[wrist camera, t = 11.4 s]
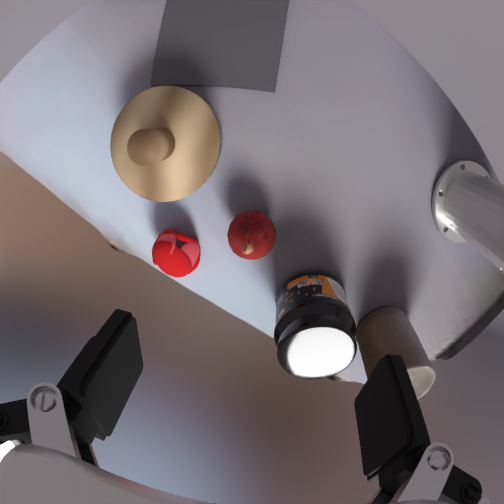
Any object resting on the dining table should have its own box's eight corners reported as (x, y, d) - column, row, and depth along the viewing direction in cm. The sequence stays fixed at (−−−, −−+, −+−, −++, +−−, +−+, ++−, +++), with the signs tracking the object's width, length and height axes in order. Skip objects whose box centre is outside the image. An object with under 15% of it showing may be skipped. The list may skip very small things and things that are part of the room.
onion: (231, 204, 37) (218, 225, 29) (275, 202, 36) (273, 223, 29) (235, 245, 39) (224, 273, 32) (277, 244, 38) (275, 273, 31)
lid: (228, 88, 25) (217, 80, 20) (214, 206, 31) (202, 221, 26) (119, 89, 25) (94, 86, 21) (114, 194, 31) (91, 205, 27)
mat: (289, -6, 23) (289, -8, 23) (274, 92, 30) (274, 91, 29) (171, -7, 24) (169, -9, 23) (152, 85, 30) (150, 84, 30)
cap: (149, 220, 35) (134, 263, 35) (184, 231, 33) (168, 278, 33) (180, 235, 43) (167, 272, 42) (212, 245, 41) (199, 284, 40)
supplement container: (348, 267, 39) (369, 319, 28) (340, 324, 43) (352, 380, 32) (275, 267, 40) (272, 321, 29) (276, 325, 44) (272, 383, 33)
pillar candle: (346, 344, 45) (361, 416, 31) (370, 300, 40) (399, 372, 27) (391, 351, 45) (413, 415, 31) (417, 309, 41) (452, 374, 27)
